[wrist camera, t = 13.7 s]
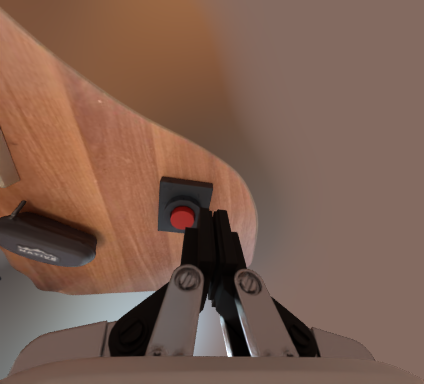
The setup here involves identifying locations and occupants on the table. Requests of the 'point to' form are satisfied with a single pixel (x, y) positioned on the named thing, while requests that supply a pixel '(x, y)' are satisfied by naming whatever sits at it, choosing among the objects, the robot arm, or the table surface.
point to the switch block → (181, 200)
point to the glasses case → (45, 239)
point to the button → (182, 217)
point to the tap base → (6, 165)
